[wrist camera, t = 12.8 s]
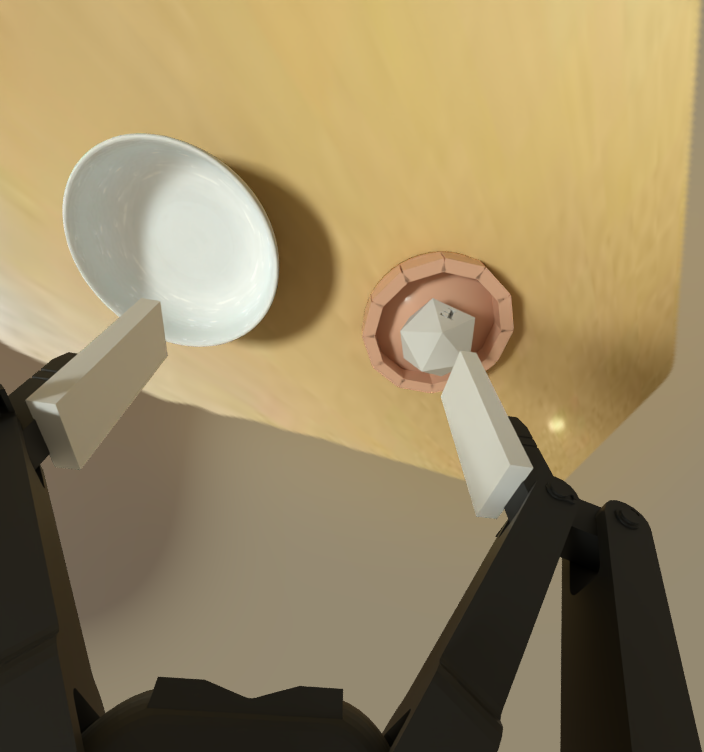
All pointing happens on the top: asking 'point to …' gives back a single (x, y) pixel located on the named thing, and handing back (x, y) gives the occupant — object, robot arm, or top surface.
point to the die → (436, 337)
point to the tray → (448, 285)
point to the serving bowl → (172, 237)
